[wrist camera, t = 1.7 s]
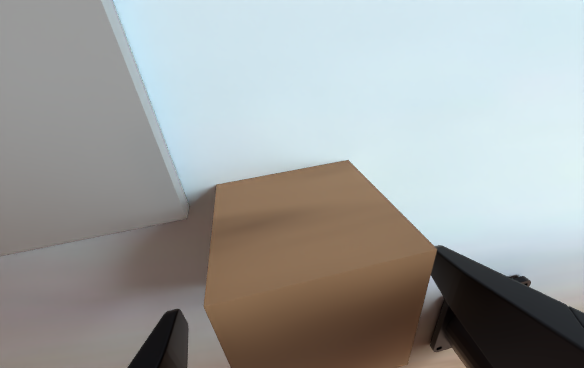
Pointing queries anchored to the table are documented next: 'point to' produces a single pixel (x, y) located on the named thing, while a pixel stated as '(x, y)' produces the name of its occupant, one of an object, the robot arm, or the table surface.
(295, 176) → the walnut cube
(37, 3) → the coaster
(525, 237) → the table surface
